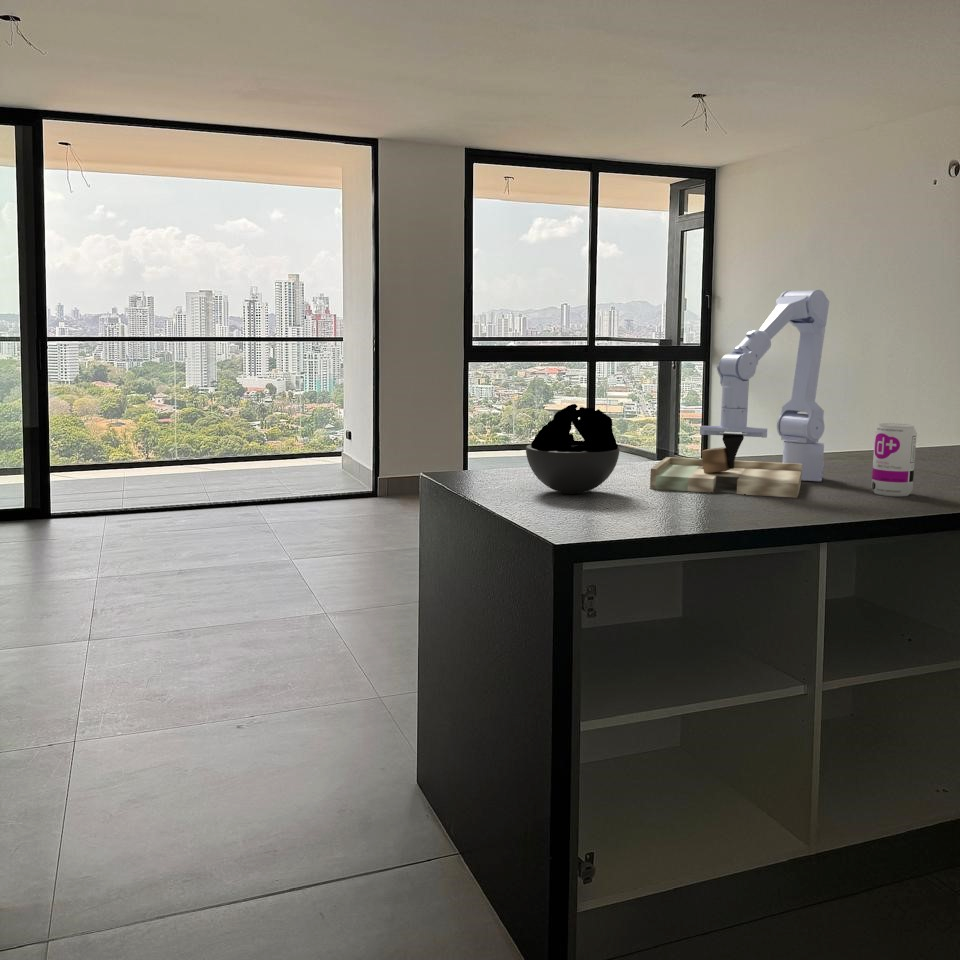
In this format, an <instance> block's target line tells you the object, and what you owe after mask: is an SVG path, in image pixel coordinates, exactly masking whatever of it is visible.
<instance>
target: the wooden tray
mask: <svg viewBox="0 0 960 960" xmlns="http://www.w3.org/2000/svg"><path fill="white" fill-rule="evenodd" d="M801 472H802V464H796V463H783V462H772V461H757V460H756V461H755V460H754V461H752V460H736V459H735V464H734V469H730V470H727V471H721V472H711V473H704V468H703V460H702V458H690V457H673V456H672V457H671V456H670V457H669V456H665V457H664V458H662V460H660V461H659V462H658V463H656V464H655V465H654V466H652V467H651V468H650V477H649V478H650V481H649V483H650V484H649V489H650V490H664V491H678V492H679V491H682V492H695V493H696V492H697V493H711V492H712V493H714V494H715V493H716V494H728V493H729V494H730V495H744V494H746V495H747V496H764V497H765V496H766V497H781V498H794V499H795V498H798V496H799V493H800V488H801V484H802V480H801ZM729 494H728V495H729ZM746 495H745V496H746Z"/></svg>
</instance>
